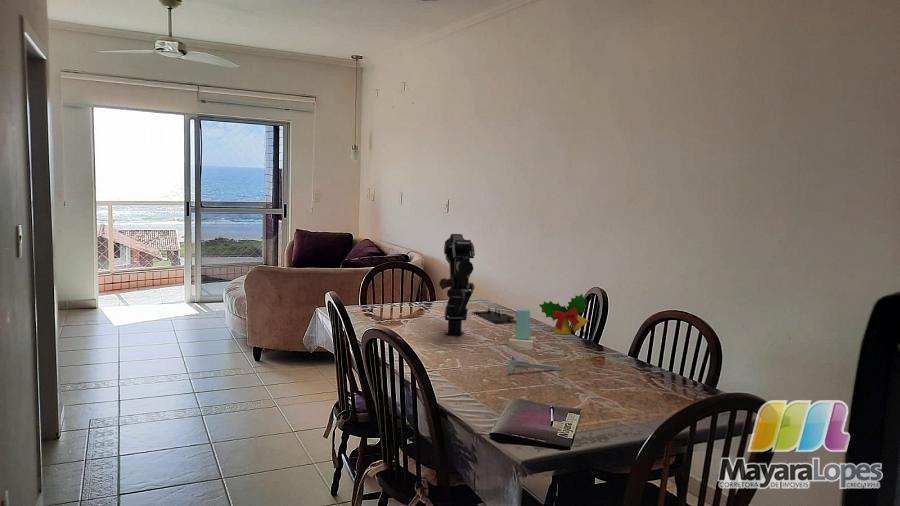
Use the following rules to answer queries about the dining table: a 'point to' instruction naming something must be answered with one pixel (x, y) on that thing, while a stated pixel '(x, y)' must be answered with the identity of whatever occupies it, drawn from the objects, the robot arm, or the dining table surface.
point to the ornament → (566, 314)
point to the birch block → (522, 343)
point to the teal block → (523, 324)
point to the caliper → (528, 365)
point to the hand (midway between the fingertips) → (460, 311)
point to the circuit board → (495, 317)
